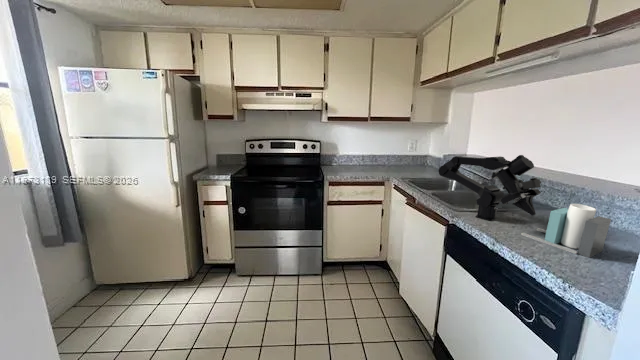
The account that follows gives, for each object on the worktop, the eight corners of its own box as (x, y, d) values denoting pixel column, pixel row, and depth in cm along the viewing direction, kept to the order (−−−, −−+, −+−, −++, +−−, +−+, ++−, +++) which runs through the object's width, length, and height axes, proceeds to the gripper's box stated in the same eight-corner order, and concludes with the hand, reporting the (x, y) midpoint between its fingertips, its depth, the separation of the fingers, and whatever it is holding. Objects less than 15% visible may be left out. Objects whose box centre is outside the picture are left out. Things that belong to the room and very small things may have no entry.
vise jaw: (544, 241, 100) (550, 211, 97) (557, 237, 104) (564, 207, 101) (553, 245, 97) (561, 213, 94) (567, 240, 101) (574, 210, 99)
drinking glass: (583, 246, 97) (597, 207, 93) (581, 252, 92) (595, 212, 88) (559, 239, 101) (571, 202, 97) (555, 244, 97) (568, 205, 93)
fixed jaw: (521, 234, 106) (527, 205, 103) (537, 230, 111) (543, 202, 108) (587, 258, 88) (597, 224, 86) (603, 251, 93) (612, 218, 91)
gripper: (514, 172, 103) (541, 208, 96) (540, 169, 111) (567, 202, 104) (490, 187, 112) (513, 221, 104) (515, 183, 120) (539, 215, 113)
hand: (534, 214), depth 106 cm, fingers closed
